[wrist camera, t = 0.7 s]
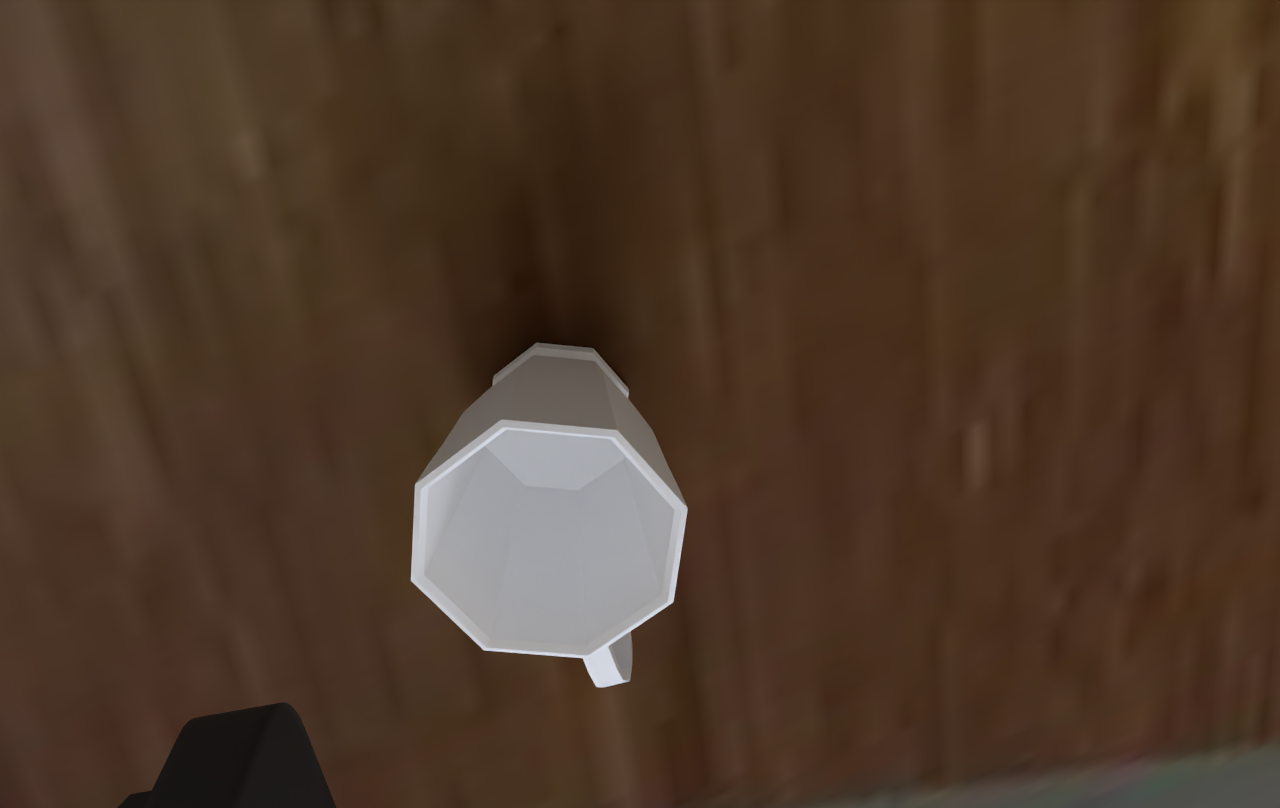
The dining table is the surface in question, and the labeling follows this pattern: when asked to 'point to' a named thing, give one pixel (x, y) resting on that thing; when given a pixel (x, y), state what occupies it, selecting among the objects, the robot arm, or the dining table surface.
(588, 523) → the cup
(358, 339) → the dining table surface
